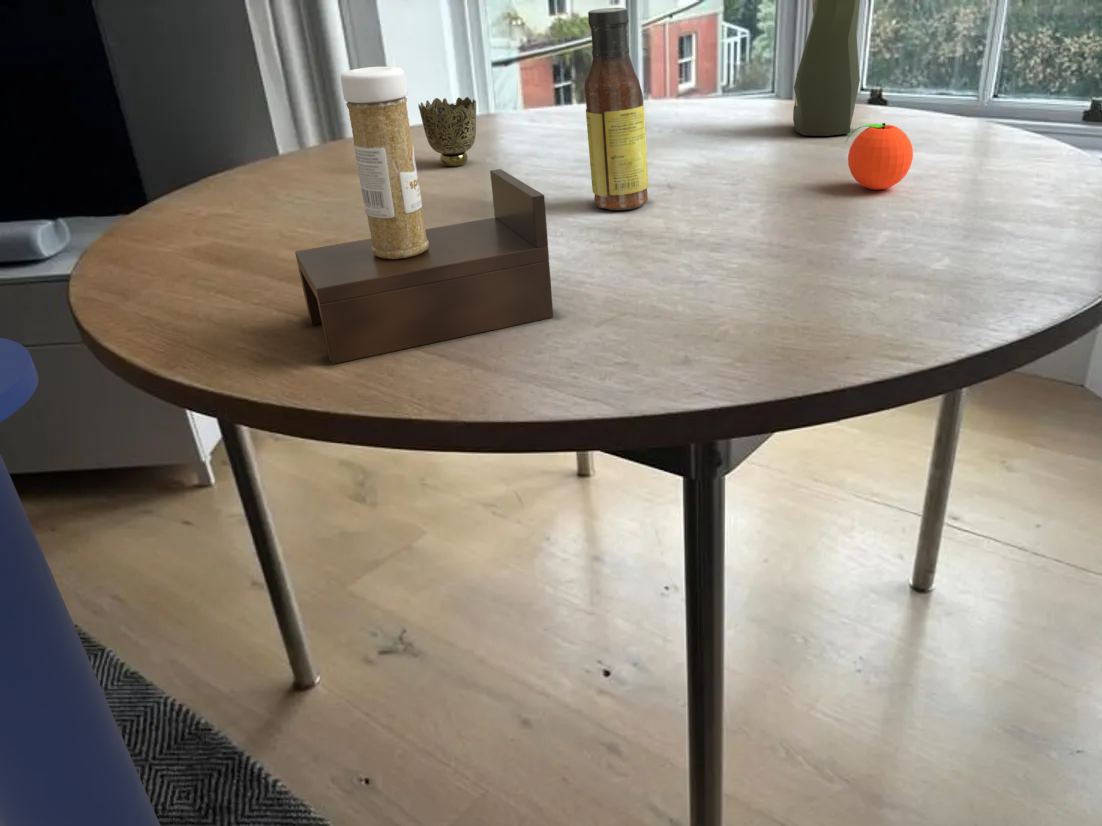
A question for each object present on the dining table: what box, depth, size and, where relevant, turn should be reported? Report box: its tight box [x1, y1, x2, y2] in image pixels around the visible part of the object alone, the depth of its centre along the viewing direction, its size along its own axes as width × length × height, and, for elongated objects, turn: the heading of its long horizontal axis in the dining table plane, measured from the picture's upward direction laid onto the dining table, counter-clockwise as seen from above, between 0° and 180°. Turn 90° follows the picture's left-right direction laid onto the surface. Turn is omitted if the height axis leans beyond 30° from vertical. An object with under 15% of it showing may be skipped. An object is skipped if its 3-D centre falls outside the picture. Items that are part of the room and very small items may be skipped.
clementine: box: [845, 122, 914, 191], centre depth 103 cm, size 8×7×7 cm
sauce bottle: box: [584, 7, 649, 211], centre depth 99 cm, size 7×6×20 cm
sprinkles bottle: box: [340, 66, 429, 259], centre depth 70 cm, size 5×5×13 cm
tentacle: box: [792, 0, 861, 137], centre depth 123 cm, size 9×12×30 cm
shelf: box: [294, 168, 554, 365], centre depth 74 cm, size 18×10×10 cm, turn 115°
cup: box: [418, 96, 477, 167], centre depth 122 cm, size 8×7×8 cm
